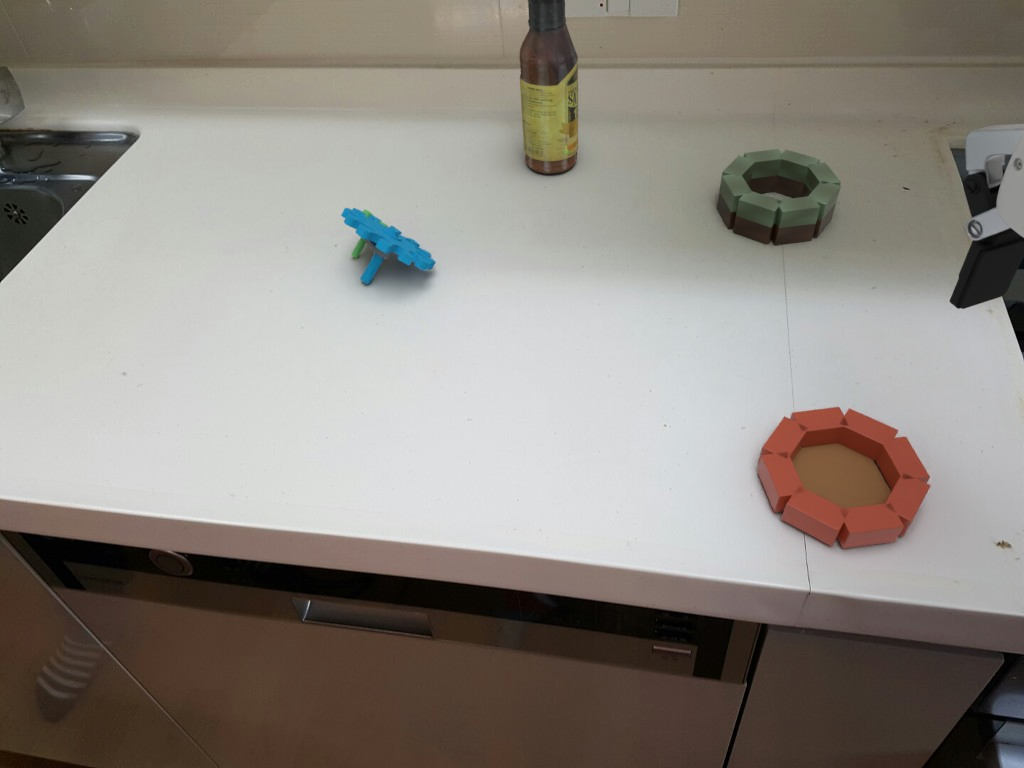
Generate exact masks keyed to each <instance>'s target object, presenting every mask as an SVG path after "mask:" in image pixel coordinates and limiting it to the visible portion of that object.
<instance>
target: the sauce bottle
mask: <svg viewBox="0 0 1024 768" xmlns="http://www.w3.org/2000/svg"><path fill="white" fill-rule="evenodd" d="M527 4H528V7H527V8H528V20H527V23H528V28H529V29H528V31H527V34H526V35H525V37H524V39H523V41H522V42H521V46H520V48H519V68H520V75H519V86H520V88H519V89H520V102H521V103H520V105H521V117H522V118H521V120H522V121H521V123H522V124H521V125H522V136H523V137H522V138H523V151H524V153H525V157H524V158H525V164H526V165H527V166H528V168H529V169H531V170H533V171H534V172H536V173H540V174H543V175H544V174H546V175H548V174H550V175H551V174H560V173H563V172H566V171H568V170H569V169H571V168H572V167H573V166H574V165H575V164H576V161H577V159H578V158H577V156H578V150H579V62H578V61H579V57H578V54H577V51H576V48H575V45H574V43H573V40H572V38H571V34H570V32H569V27H568V25H567V20H566V19H567V17H566V0H527Z"/></svg>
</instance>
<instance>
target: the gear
mask: <svg viewBox="0 0 1024 768" xmlns="http://www.w3.org/2000/svg"><path fill="white" fill-rule="evenodd" d="M340 216H341V217H342V218H344V220H343V223H344V224H345V225H347V226H348V227H349V228H352V229H354V230H355V233H356V235H357V236H358V237H359V240H358V242H357V243H356V245H355V247H354V249H353V250H352V252H351V255H350V256H352V257H353V258H355V259H358V258H359V257H360V255H361V253H362V252H363V250H364V248H365V246H366V244H367V246H368V247H369V249H371V250H372V252H373V253H374V254H373V256H372V257H371V259H370V261H369V263H368V264H367V266H366V268H365V269H364V272H363V273H362V274H361V277H360V278H359V280H360V281H362V282H363V283H364V284H366V285H370V284H371V282H372V280H373V278H374V277H375V275H376V274H377V272H378V270H379V268H380V267H381V265H382V263H383V262H384V261H385V260H388V259H389V257H390V256H391V254H392V253H394V254H395V255H397V260H398V261H399V262H401V263H403V264H405V265H407V266H411V264H412V263H414V266H415V267H416V268H417V269H419V270H421V271H424V272H427V271H428V270H432V269H433V268H434V266H435V265H436V263H437V261H436V260H434V259H433V258H432V253H431V252H429V251H427V250H426V249H423V248H421V247H420V246H421V244H420V243H418V242H417V241H416V240H414V239H413V238H411V237H406V236H404V235H402V233H403V232H402V231H401V230H400V229H398V228H396V227H395V226H393V225H390V226H389V225H388V224H387V223H384V222H383V221H382V220H381V219H380V218H379V217H377V216H375V215H374V214H373V213H372V212H371V211H370V210H368V209H365V208H364V209H363V211H362V210H361V209H358V208H355V207H353V208H349V207H345V208H344V209H343V211H342V212H341V214H340Z"/></svg>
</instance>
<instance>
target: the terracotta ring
mask: <svg viewBox="0 0 1024 768" xmlns="http://www.w3.org/2000/svg"><path fill="white" fill-rule="evenodd" d="M898 432H899V429H897V428H895V427H892V426H891V425H888V424H886V423H883V422H881V421H879V420H877V419H874V418H872V417H870V416H869V415H866V414H863V413H861V412H859V411H856V410H854V409H852V408H848V409H847V410H846V412H845V414H844V413H843V411H842V409H841V407H840V406H834V407H826V408H818V409H808V410H802V411H794V412H791V413H790V417H787V416H784V417H783V418H782V419H781V420H780V422H779V423H778V425H777V426H776V427H775V429H774V430H773V432H772V433H771V434H770V436H769V437H768V438H767V440H766V441H765V443H764V444H763V446H762V447H761V450H760V454H759V457H758V460H757V464H758V466H757V470H756V472H757V475H758V477H759V479H760V481H761V483H762V486H763V488H764V492H765V493H766V496H767V499H768V501H769V503H770V506H771V508H772V511H773V512H774V513H778V512H782V515H781V521H783V522H785V523H787V524H789V525H790V526H792V527H794V528H796V529H798V530H800V531H802V532H804V533H806V534H808V535H809V536H811V537H813V538H815V539H817V540H819V541H820V542H823V543H824V544H826V545H828V546H830V547H833V546H834V545H835V542H836V541H837V540H838V542H839V543H840V546H841V548H842V549H850V548H857V547H864V546H865V547H866V546H872V545H880V544H888V543H895V542H897V539H898V538H899V536H900V537H904V536H905V535H906V533H907V531H908V530H909V528H910V527H911V525H912V522H913V520H914V518H915V516H917V513H918V512H919V509H920V507H921V506H922V503H923V502H924V500H925V498H926V496H927V494H928V492H929V490H930V488H931V484H929V480H930V478H931V476H930V474H929V473H928V471H927V469H926V467H925V466H924V464H923V462H922V460H921V459H920V458H919V457H920V456H918V454H917V451H915V449H914V447H913V445H912V444H911V442H910V440H909V439H908V437H907V436H906V435H905V436H899V437H898V436H897V434H898ZM896 436H897V437H896ZM831 443H839V444H842V445H844V446H846V447H848V448H850V449H852V450H854V451H856V452H859V453H861V454H863V455H865V456H867V457H869V458H871V459H873V461H874V462H875V464H876V465H877V467H878V469H879V471H880V473H881V474H882V476H883V478H884V480H885V482H886V483H887V485H888V487H889V488H890V490H891V493H890V495H889V497H888V499H887V500H886V502H885V503H883V504H875V505H868V506H860V507H853V508H845V509H844V508H842V507H840V506H838V505H836V504H834V503H832V502H830V501H828V500H827V499H825V498H823V497H821V496H819V495H817V494H815V493H813V492H811V491H809V490H807V489H805V488H804V487H803V484H802V482H801V480H800V478H799V476H798V473H797V471H796V469H795V467H794V465H793V462H792V460H793V459H794V457H795V456H796V455H797V453H798V452H799V450H800V449H801V448H803V447H810V446H817V445H824V444H831Z"/></svg>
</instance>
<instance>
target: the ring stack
mask: <svg viewBox="0 0 1024 768" xmlns="http://www.w3.org/2000/svg"><path fill="white" fill-rule="evenodd" d="M841 183H842V182H841V181H840V179H839V177H838V176H837V175H836V174H835V173H834V171H833V170H832V169H831V168H830V166H829V165H828V164H827V162H821V159H820V158H817V157H814V156H810V155H807V154H803V153H799V152H797V151H793V150H790V149H784V151H781V150H780V149H779V148H774V149H773V148H772V149H765V150H758V151H757V150H756V151H750V152H749V151H748V152H744V153H743V156H742V155H737V156H736V158H734V159H733V161H732V162H730V163H729V164H728V165H727V167H726V168H724V169H723V171H722V172H721V178H720V183H719V184H720V185H719V189H718V190H719V191H718V196H717V197H718V198H717V203H716V210H717V212H718V214H719V215H720V217H721V219H722V220H723V222H724V224H725V226H726V229H729V230H730V229H732V233H734V234H736V235H740V236H742V237H745V238H747V239H750V240H753V241H756V242H760V243H762V244H765V245H769V244H770V242H772V243H773V245H775V246H778V245H786V244H787V245H788V244H794V243H802V242H807V241H808V242H810V241H812V239H813V238H817V239H818V238H819V236H820V235H821V234H822V232H823V231H824V229H825V228H826V227H827V226H828V224H829V223H830V222H831V221H832V219H833V216H834V212H835V208H836V205H837V202H838V198H839V195H840V191H841V188H842V186H841ZM773 192H774V193H778V194H782V195H784V196H788V197H790V198H785V199H784V198H783V199H778V198H774V197H772V196H769V195H765V194H766V193H773Z"/></svg>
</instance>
